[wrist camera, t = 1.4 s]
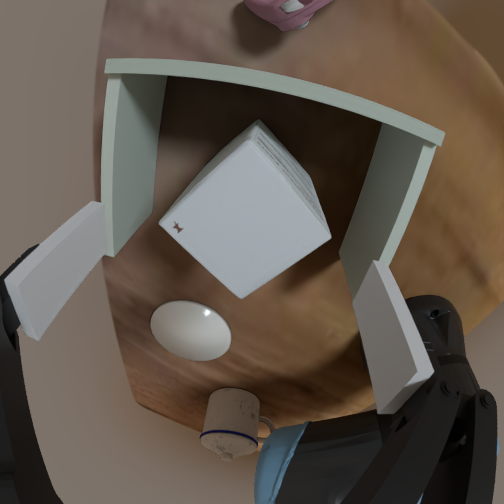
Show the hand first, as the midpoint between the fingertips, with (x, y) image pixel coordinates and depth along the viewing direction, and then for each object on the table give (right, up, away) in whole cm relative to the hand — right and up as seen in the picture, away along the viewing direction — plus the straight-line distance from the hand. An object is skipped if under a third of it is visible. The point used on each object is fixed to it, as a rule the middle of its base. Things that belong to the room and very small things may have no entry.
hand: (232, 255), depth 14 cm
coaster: (-7, -10, +25) cm, 28 cm away
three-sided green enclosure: (+2, +8, +13) cm, 16 cm away
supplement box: (+1, +8, +14) cm, 16 cm away
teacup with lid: (-1, -25, +33) cm, 42 cm away
